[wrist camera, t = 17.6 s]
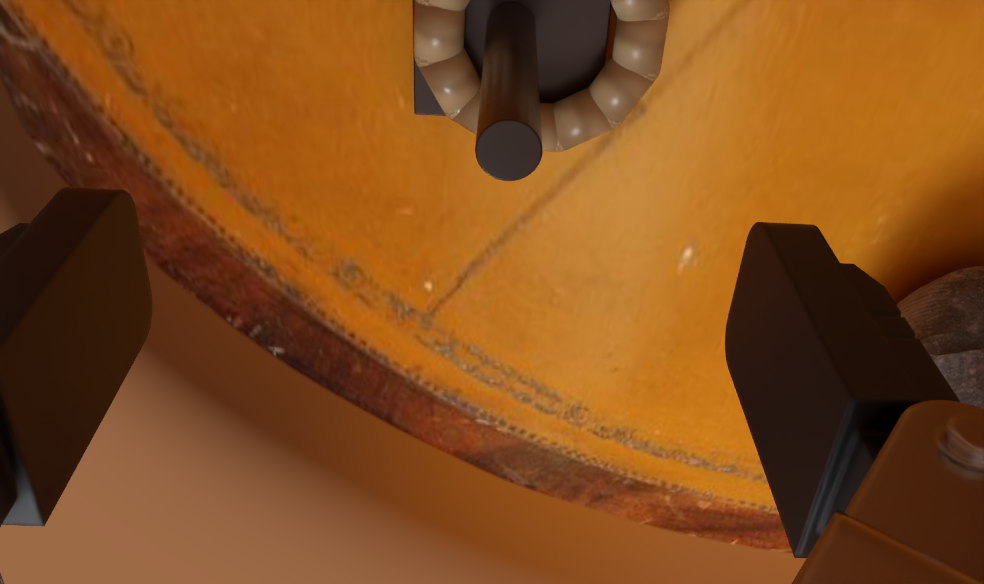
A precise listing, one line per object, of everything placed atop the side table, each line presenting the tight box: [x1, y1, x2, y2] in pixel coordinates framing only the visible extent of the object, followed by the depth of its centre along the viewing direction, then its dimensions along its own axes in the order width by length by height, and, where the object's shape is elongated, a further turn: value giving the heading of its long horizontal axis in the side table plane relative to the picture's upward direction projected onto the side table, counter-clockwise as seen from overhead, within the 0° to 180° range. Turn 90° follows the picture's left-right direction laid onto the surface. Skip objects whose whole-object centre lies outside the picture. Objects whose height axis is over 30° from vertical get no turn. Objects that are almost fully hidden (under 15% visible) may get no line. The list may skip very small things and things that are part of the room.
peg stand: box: [413, 0, 611, 181], centre depth 32 cm, size 8×8×13 cm
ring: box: [414, 0, 670, 152], centre depth 36 cm, size 10×10×2 cm
